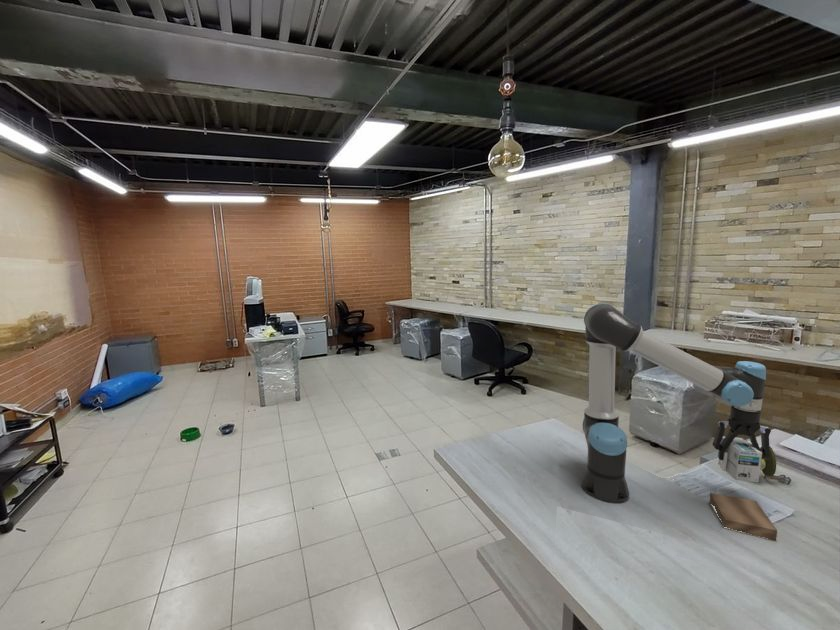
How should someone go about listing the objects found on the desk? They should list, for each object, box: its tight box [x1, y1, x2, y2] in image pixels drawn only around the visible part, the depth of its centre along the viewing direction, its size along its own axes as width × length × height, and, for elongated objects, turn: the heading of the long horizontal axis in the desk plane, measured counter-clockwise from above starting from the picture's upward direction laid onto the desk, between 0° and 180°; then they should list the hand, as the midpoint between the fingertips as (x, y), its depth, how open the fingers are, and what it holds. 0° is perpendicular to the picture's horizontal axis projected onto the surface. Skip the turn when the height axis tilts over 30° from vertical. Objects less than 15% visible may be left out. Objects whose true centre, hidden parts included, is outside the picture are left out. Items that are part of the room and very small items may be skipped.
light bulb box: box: [718, 435, 762, 483], centre depth 126 cm, size 11×7×11 cm, turn 168°
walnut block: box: [708, 492, 778, 542], centre depth 115 cm, size 12×14×5 cm
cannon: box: [759, 445, 777, 478], centre depth 147 cm, size 25×12×11 cm, turn 158°
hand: (737, 471), depth 127 cm, fingers closed on light bulb box, 7 cm apart
